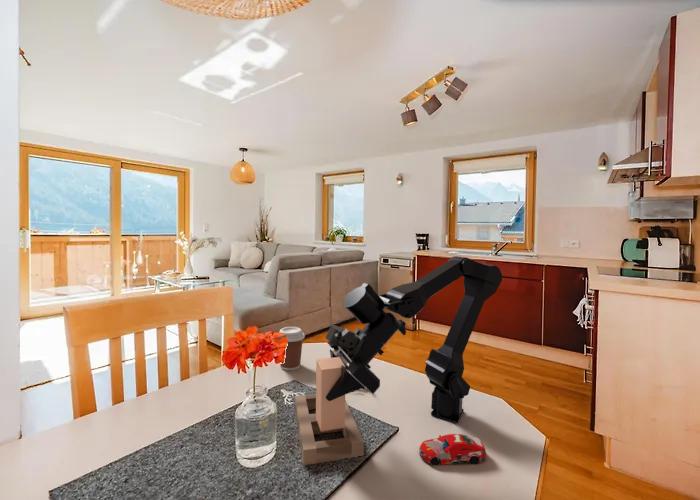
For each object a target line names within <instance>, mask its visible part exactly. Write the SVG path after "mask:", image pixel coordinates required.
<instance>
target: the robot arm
mask: <svg viewBox="0 0 700 500" xmlns="http://www.w3.org/2000/svg"><path fill="white" fill-rule="evenodd" d="M461 277H463V288H464V294H463V297H462V299H461V302H460V304H459V307H458V309H457V311H456V314H455V316H454V318H453V321H452V323H451V325H450V327H449V330H448V333H447V334H446V337H445V340H444V342H443V344H442V345H441V346H440V347H439V348H438V349H435V348H432V349H431V350H430V351H429V355H428V358H427V359H426V360H425V362H424V364H425V368H424V372H425V375H426V377H427V379H428V381H429V383H430V385H432V386H434V388H433V391H432V393H431V406H430V407H431V409H432V410H431V412H430V413H431V416H433V417H436V418H439V419H442V420H445V421H449V422H452V423H455V424H458V423H459V422H460V419H461V417H462V416H463V413H464V410H465V409H464V408H463V399H465V396H468V395H469V393H470V389H471V386H470V385H469V383H468V382H467V381H466V380H465V379H464V378H463V375H464V371H465V364H464V356H463V355H464V352H465V349H466V347H467V346H468V343H469V340H470V337H471V335H472V333H473V331H474V328H475V325H476V324H477V321H478V318H479V316H480V313H481V312H482V308H483V306H484V304H485V302H486V301H487V300H488V299H489V298H491V297H492V296H494V294H496V292H497V290H498V289H499V287H500V285H501V283H502V281H503V274H502V271H501V269H500V267H499V266H497V265H494V264H487V263H481V262H478V261H475V260H472V259H470V258H469V257H466V256H465V257H464V256H456V255H455V256H452V257H450V258H449V259H448V261H446V262H445V263H443V264H441V265H440V266H438V267H437V268H434V269H433V270H431V271H430V272H428V273H427V274H425V275H424V276H422V277H420V278H419V279H417V280H415V281H412V282H409V283H403V284H400V285H397V286H395V287H392V288H390V289H389V290H388V291H387V292H386V293H382V294H377V292H376V291H375V289H374V288H373V287H372V285H371V284H370V283H366V282H363V283H362V284H361V285H360V286H358V287H355V288H354V289H353V290H351V291H349V292H348V293H347V295H345V298H344V299H343V302H342V304H343V306H344V308H346V310H347V311H348V312H349V313H350V314H351V315H352V316H353V317H355V319H356V320H357V321H358V322H359V323H360V324H363V325H365V326H363V328H362V329H361V328H359V327H358V328H356V329H355V330H354V331H352V330H349V329H348V328H343V327H342V326H341V327H340V326H338V325H335V324H331V325H330V327H329V329H328V331H327V334H326V336H325V339H326V340H327V341H328V342H327V344H328V345H329V347H330V349H329V354H330V358H334V357H339V358H340V359H341V361H342V362H343V363H344V365H345V366H346V368H345V367H344V366H343V365H342V367H341V376H340V377H339V379H338V380H337V382H336V383H335V384H334V386H333V387H332V388H331V390H330V391H329V393H328V394H327V396H326V399H327V400H328V401H331V400H334V399H336V398H338V397H341V396H343V395H345V396H346V395H347V394H351V393H353V392H356V391H360V390H366V389H367V390H368V391H369V392H370V393H371V394H373V395H374V394H375V393H376V392H377V391H378V390H379V388H380V386H381V379H380V378H379V377H378V376H377V375H376V373H374V372H373V370H371V368H372V366H371V365H370V362H372V360H374V358H375V357H376V355H380V356H382V355H383V354H384V353H385V352H384V350H383V348H384V346H386V344H387V343H388V342H389V341H390V340H391V338H393V336H394V335H395V334H396V333H397V332H399V333H400V334H402V335H403V336H405V335H407V329H406V325H407V323H406V322H405V321H404V320H403V319H397V317H396V316H395V315H398V316H399V317H402V318H405V319H412V318H414V317H416V315H418V313H420V312H421V311H422V310H423V309H424V308H425V307H426V304H427V301H428V300H429V299H431V297H432V296H435V295H436V294H437V293H439V292H440V291H441V290H443V289H445V288H446V287H448V286H449V285H451V284H452V283H454V282H455V281H457V280H459V279H460V278H461ZM384 309H386V310H388V311H389V312H386V311H384ZM394 314H395V315H394ZM332 349H333V350H332ZM348 364H349V365H348ZM359 389H360V390H359Z"/></svg>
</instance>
